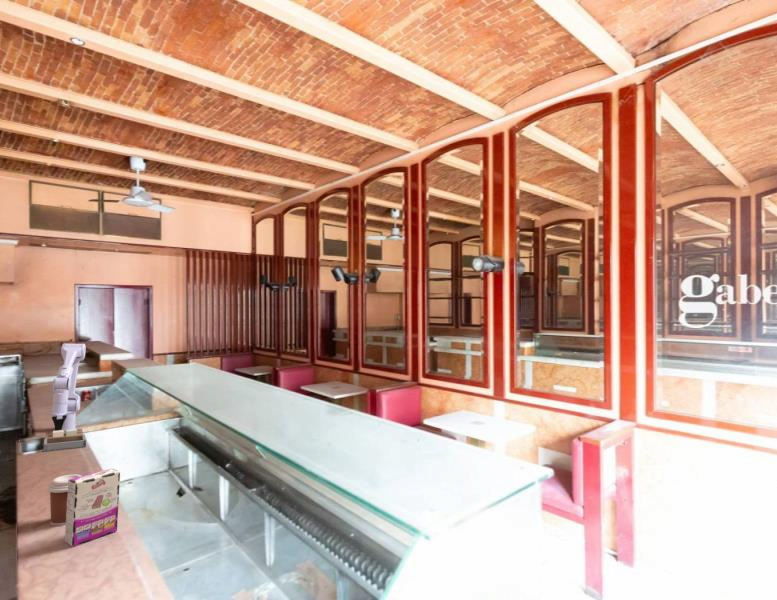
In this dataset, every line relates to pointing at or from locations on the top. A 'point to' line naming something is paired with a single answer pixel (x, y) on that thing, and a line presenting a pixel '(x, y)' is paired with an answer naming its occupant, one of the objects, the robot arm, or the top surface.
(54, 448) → the tray
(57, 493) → the coffee cup
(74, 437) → the plate
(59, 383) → the robot arm
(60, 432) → the cream tile
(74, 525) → the candy bar box
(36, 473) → the top surface
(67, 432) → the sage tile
